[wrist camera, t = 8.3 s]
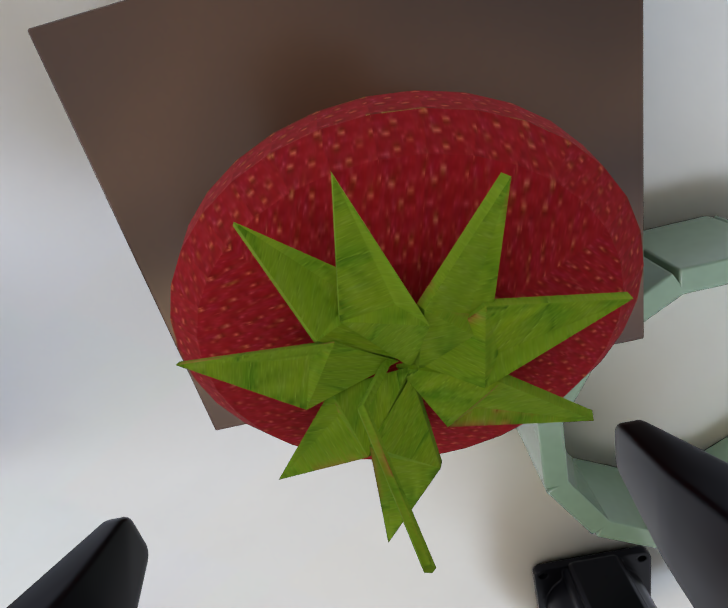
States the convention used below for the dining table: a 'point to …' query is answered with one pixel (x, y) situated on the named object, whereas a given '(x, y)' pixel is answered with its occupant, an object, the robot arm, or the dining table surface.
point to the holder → (546, 440)
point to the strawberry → (405, 284)
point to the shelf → (321, 91)
